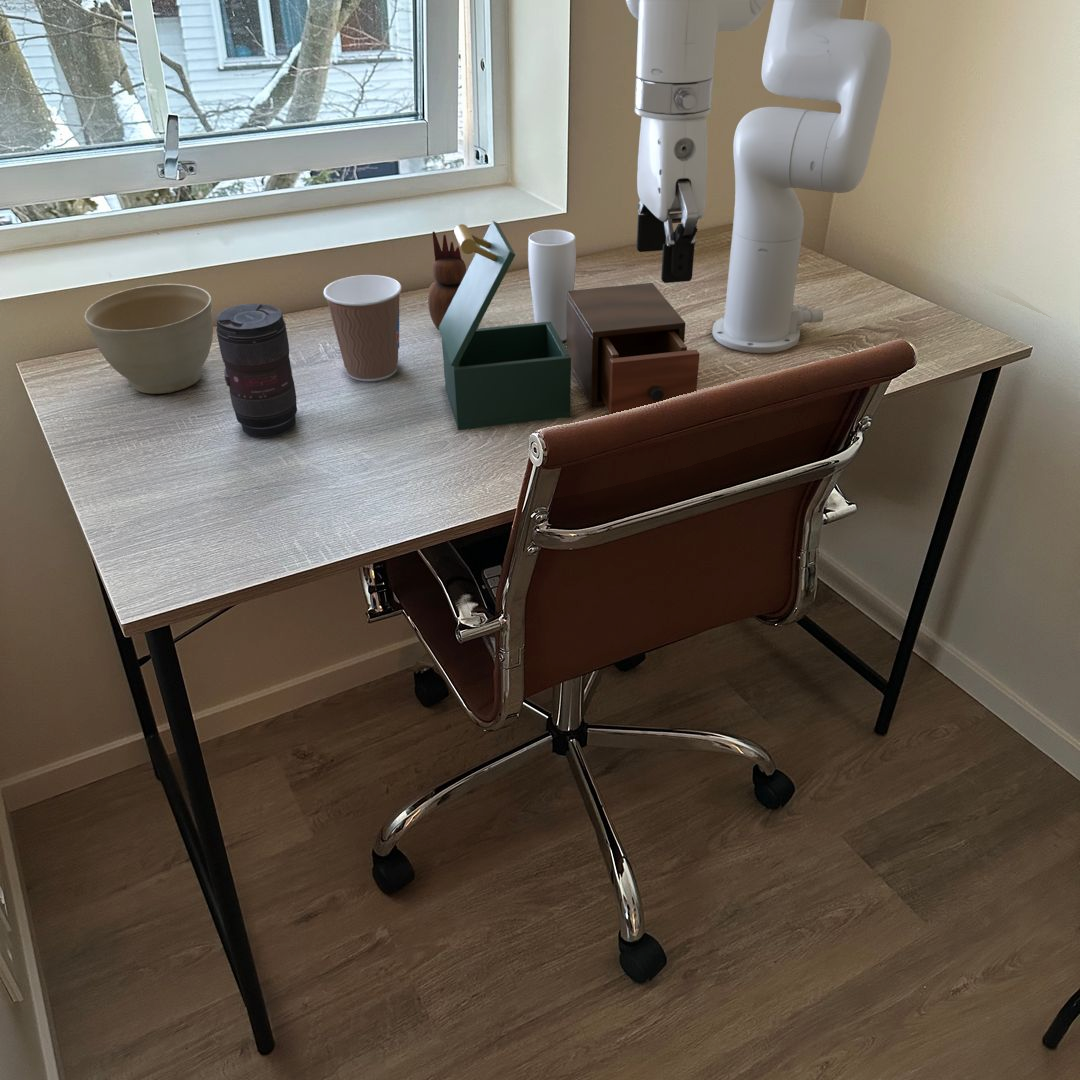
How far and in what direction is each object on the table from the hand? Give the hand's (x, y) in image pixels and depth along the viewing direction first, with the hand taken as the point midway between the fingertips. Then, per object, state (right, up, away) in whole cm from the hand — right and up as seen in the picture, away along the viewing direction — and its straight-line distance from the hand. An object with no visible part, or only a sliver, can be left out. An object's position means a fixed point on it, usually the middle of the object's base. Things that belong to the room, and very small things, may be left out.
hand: (663, 265), depth 111 cm
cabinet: (-2, -8, +29) cm, 30 cm away
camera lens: (-48, -15, +19) cm, 54 cm away
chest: (-18, -12, +24) cm, 32 cm away
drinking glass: (-11, 0, +41) cm, 42 cm away
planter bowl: (-65, -8, +31) cm, 72 cm away
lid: (-21, 0, +14) cm, 25 cm away
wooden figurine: (-26, +2, +43) cm, 51 cm away
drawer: (-1, -12, +21) cm, 24 cm away
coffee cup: (-37, -6, +32) cm, 49 cm away
